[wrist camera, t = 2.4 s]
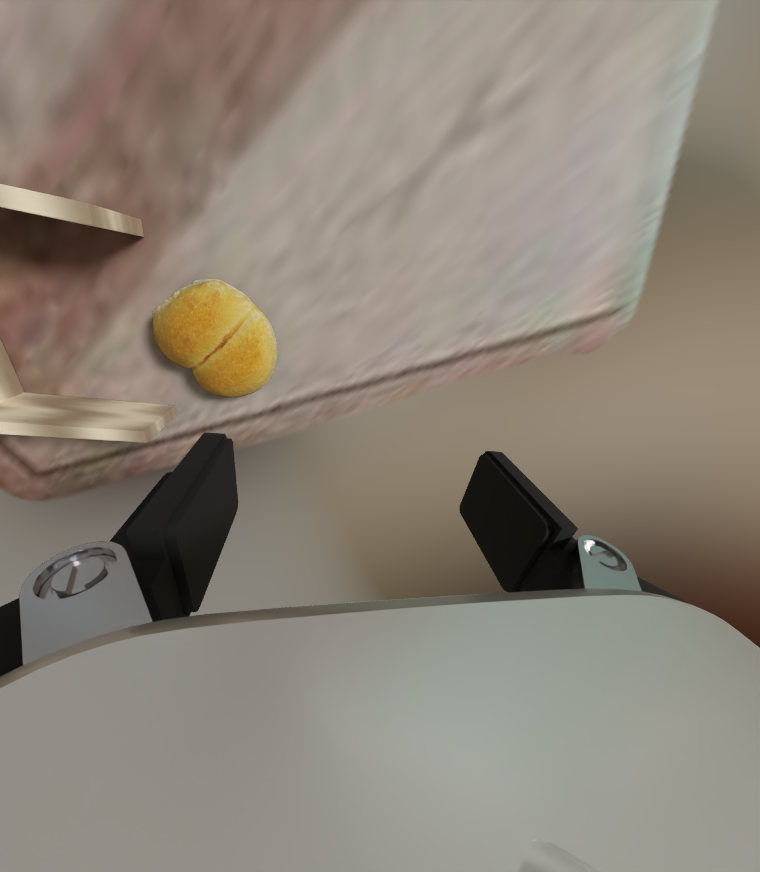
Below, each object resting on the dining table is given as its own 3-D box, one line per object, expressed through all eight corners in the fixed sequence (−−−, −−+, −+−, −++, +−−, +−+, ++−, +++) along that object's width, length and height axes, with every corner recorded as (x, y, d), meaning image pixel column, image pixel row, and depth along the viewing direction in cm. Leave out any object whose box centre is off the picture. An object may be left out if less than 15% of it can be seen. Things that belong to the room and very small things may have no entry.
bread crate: (14, 402, 23) (-56, 430, 19) (-97, 168, 16) (-247, 129, 12) (176, 415, 26) (147, 442, 22) (140, 219, 19) (87, 203, 15)
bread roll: (234, 405, 27) (220, 424, 23) (145, 323, 22) (113, 331, 19) (301, 355, 26) (297, 367, 22) (221, 258, 21) (201, 254, 18)
